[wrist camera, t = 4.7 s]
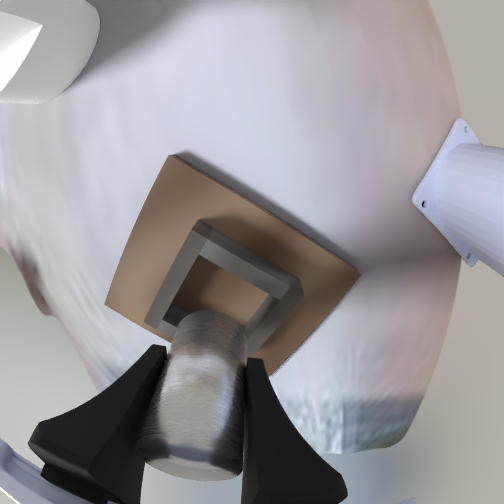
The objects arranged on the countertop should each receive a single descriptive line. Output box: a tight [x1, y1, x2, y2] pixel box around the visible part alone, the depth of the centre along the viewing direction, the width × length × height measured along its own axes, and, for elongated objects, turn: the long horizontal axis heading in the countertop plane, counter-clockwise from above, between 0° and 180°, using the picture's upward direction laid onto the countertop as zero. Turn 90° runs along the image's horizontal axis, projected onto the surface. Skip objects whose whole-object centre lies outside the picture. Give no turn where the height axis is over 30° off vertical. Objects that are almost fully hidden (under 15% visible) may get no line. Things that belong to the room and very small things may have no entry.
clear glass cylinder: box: [135, 310, 247, 481], centre depth 10 cm, size 4×4×7 cm
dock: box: [105, 155, 361, 377], centre depth 17 cm, size 14×12×3 cm
